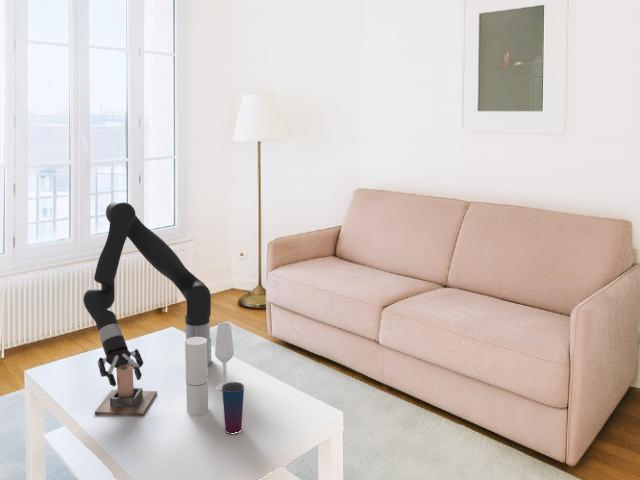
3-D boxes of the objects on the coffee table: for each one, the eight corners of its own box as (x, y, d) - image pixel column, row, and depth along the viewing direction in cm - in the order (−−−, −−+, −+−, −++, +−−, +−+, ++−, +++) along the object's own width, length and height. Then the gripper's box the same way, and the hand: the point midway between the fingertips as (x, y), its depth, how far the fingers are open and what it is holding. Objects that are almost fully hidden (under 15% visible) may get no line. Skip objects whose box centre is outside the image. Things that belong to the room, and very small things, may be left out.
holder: (156, 393, 223) (156, 383, 222) (143, 416, 208) (142, 405, 207) (111, 392, 224) (111, 381, 223) (94, 414, 208) (94, 403, 207)
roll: (136, 397, 218) (134, 365, 215) (131, 405, 213) (129, 371, 210) (121, 397, 218) (119, 364, 215) (116, 404, 213) (114, 371, 210)
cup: (223, 425, 203) (222, 382, 200) (244, 424, 204) (244, 381, 200) (221, 436, 197) (221, 392, 193) (243, 435, 197) (243, 391, 194)
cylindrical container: (211, 406, 215) (209, 337, 210) (205, 416, 208) (203, 345, 203) (190, 404, 216) (188, 336, 210) (184, 415, 209) (182, 344, 204)
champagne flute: (216, 383, 233) (215, 321, 227) (234, 382, 233) (233, 321, 228) (215, 391, 226) (213, 328, 221) (233, 391, 227) (233, 328, 221)
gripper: (94, 339, 212) (108, 383, 206) (135, 330, 221) (150, 372, 215) (89, 349, 218) (103, 392, 211) (129, 340, 226) (144, 381, 220)
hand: (127, 382), depth 213 cm, fingers open, 8 cm apart
